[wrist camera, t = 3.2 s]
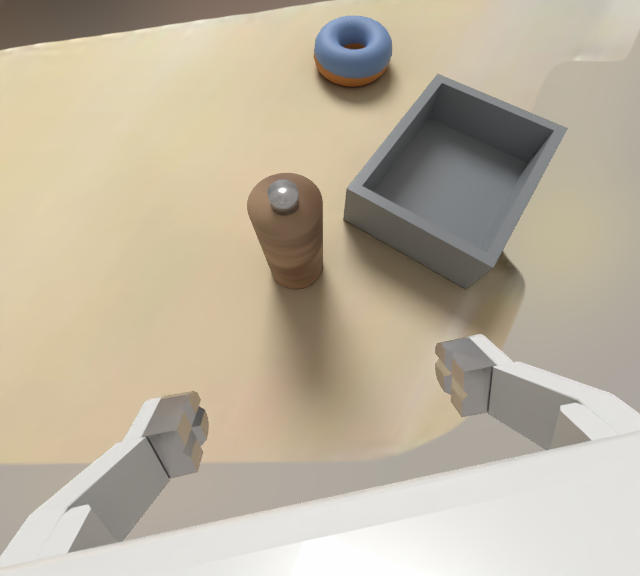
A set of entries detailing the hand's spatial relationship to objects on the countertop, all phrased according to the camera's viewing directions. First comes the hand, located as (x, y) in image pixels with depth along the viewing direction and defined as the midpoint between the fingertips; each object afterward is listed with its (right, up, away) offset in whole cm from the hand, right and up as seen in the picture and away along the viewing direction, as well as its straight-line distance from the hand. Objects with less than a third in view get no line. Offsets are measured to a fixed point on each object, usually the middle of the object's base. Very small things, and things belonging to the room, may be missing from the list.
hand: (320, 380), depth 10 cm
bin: (+13, +14, +23) cm, 30 cm away
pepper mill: (-2, +5, +20) cm, 21 cm away
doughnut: (+4, +33, +31) cm, 45 cm away
